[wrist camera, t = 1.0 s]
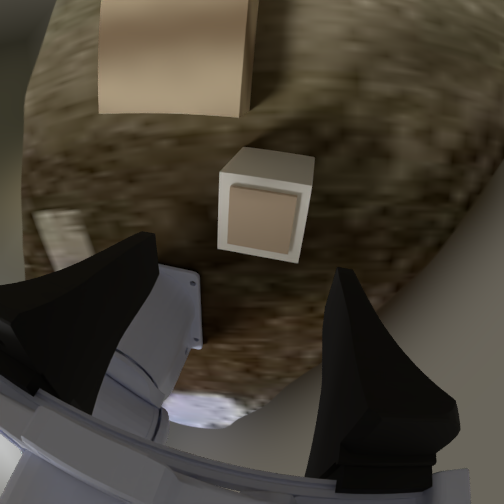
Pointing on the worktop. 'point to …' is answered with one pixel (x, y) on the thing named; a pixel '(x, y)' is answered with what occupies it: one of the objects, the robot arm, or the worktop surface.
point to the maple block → (176, 56)
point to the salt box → (264, 203)
